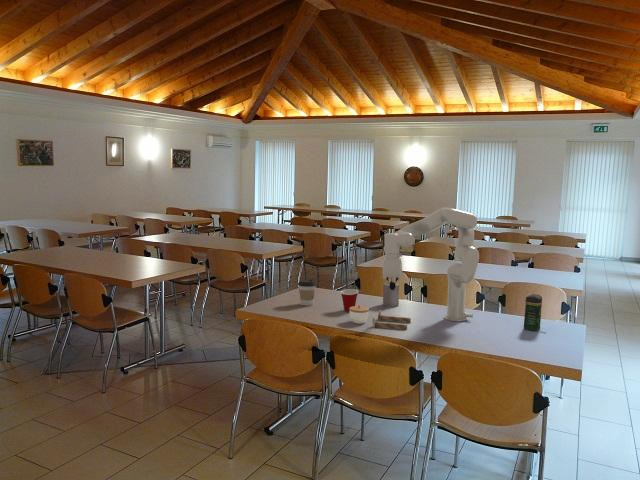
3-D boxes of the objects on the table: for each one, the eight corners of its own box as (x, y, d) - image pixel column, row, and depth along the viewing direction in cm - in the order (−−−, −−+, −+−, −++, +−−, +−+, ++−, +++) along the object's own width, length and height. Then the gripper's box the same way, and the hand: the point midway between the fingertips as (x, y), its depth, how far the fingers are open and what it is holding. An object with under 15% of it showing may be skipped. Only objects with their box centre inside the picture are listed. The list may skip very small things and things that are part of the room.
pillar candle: (387, 302, 350) (388, 279, 348) (401, 305, 344) (402, 281, 342) (379, 305, 342) (380, 281, 340) (393, 308, 336) (394, 283, 334)
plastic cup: (336, 310, 328) (336, 290, 326) (347, 307, 336) (348, 288, 334) (350, 314, 320) (350, 293, 319) (361, 310, 328) (362, 290, 327)
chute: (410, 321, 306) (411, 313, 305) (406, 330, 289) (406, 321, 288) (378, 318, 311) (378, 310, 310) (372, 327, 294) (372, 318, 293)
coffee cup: (316, 307, 336) (316, 282, 334) (297, 306, 336) (297, 282, 334) (316, 302, 347) (316, 279, 345) (298, 302, 347) (298, 278, 346)
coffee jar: (537, 332, 289) (540, 297, 287) (522, 329, 294) (524, 295, 291) (541, 328, 297) (544, 294, 295) (526, 325, 302) (528, 292, 299)
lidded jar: (372, 322, 304) (373, 305, 303) (361, 326, 296) (361, 308, 295) (356, 318, 311) (357, 302, 310) (345, 322, 303) (345, 305, 302)
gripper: (407, 255, 300) (407, 288, 302) (379, 254, 304) (380, 287, 307) (405, 257, 293) (405, 291, 295) (377, 257, 297) (377, 290, 299)
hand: (392, 289), depth 301 cm, fingers closed
